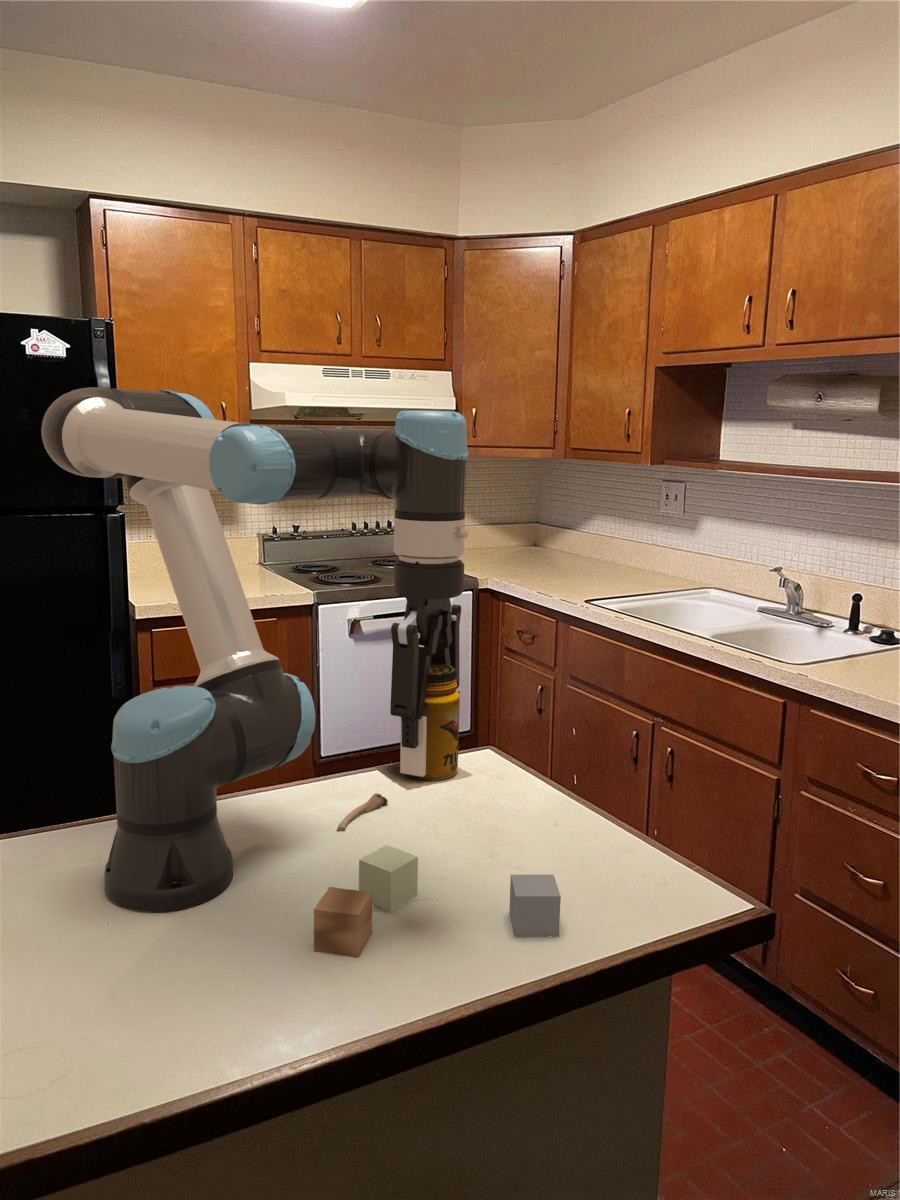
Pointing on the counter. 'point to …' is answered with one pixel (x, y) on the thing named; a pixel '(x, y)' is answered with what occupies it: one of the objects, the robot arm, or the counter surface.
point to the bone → (363, 809)
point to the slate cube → (534, 906)
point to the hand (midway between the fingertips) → (425, 763)
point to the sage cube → (389, 876)
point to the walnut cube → (343, 922)
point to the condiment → (436, 733)
